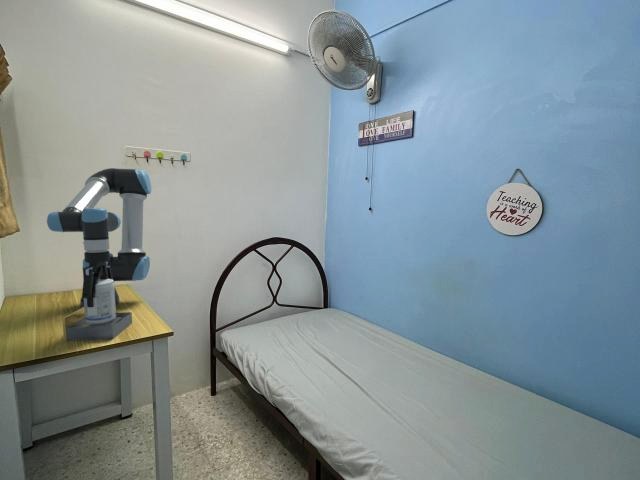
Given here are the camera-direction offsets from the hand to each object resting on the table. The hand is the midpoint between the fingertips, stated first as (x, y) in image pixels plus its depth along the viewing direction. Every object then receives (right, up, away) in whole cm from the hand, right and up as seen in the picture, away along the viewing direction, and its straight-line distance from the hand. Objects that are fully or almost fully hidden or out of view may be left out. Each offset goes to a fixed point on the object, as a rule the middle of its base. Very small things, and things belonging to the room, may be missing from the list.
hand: (100, 310), depth 117 cm
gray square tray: (0, -8, +1) cm, 8 cm away
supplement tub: (0, -4, 0) cm, 4 cm away
